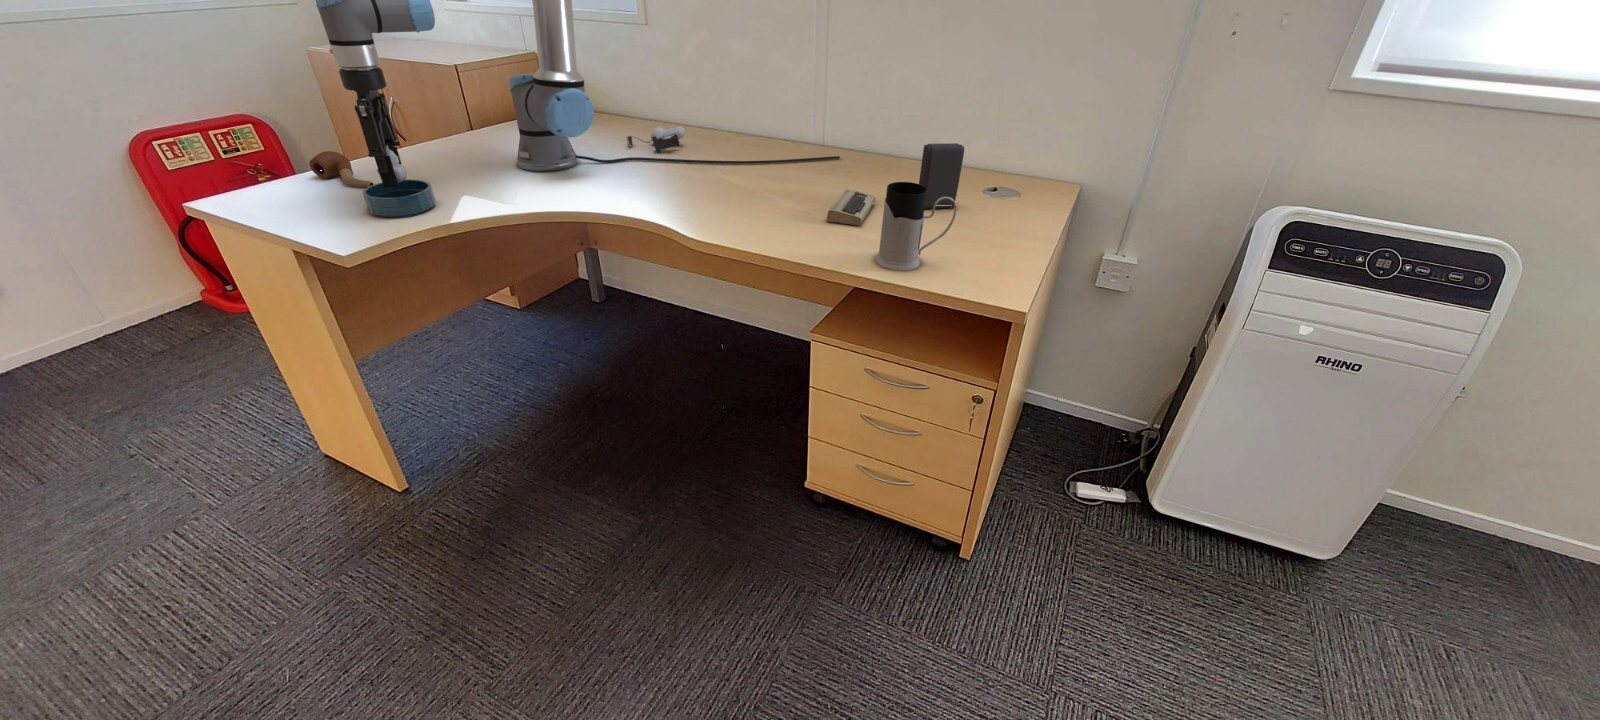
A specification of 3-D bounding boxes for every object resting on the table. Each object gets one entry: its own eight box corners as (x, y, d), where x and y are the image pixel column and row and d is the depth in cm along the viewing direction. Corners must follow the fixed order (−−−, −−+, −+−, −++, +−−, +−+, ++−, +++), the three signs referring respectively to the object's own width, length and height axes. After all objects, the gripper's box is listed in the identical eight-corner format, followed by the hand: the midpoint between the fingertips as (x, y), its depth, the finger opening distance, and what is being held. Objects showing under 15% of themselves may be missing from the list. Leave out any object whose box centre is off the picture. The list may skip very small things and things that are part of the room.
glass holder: (875, 251, 133) (883, 179, 125) (944, 256, 132) (957, 184, 124) (876, 268, 125) (884, 193, 117) (949, 274, 125) (962, 198, 116)
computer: (861, 226, 144) (862, 212, 142) (826, 222, 146) (827, 208, 144) (874, 205, 157) (876, 191, 155) (842, 200, 159) (843, 187, 157)
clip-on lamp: (623, 160, 191) (680, 151, 187) (615, 139, 187) (673, 129, 183) (635, 146, 200) (689, 137, 196) (628, 126, 196) (683, 116, 193)
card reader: (950, 203, 159) (960, 142, 151) (956, 209, 156) (966, 146, 148) (914, 204, 158) (923, 142, 150) (920, 210, 155) (929, 146, 146)
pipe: (341, 170, 165) (332, 146, 162) (392, 182, 158) (384, 158, 155) (312, 178, 159) (302, 153, 156) (364, 190, 153) (355, 165, 149)
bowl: (440, 196, 151) (435, 178, 149) (430, 216, 140) (425, 196, 138) (377, 200, 148) (371, 181, 145) (362, 220, 137) (355, 200, 135)
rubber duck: (416, 179, 143) (406, 143, 139) (394, 188, 138) (382, 150, 133) (395, 177, 144) (384, 140, 140) (372, 185, 138) (360, 148, 134)
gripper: (351, 60, 135) (385, 169, 147) (323, 75, 120) (364, 196, 132) (391, 60, 137) (421, 168, 149) (368, 75, 122) (404, 194, 134)
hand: (394, 181), depth 141 cm, fingers closed on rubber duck, 6 cm apart
